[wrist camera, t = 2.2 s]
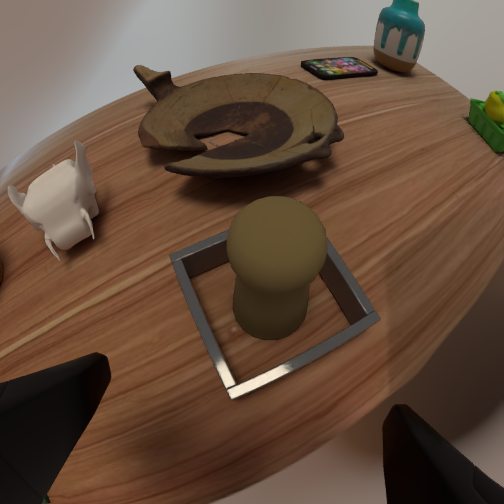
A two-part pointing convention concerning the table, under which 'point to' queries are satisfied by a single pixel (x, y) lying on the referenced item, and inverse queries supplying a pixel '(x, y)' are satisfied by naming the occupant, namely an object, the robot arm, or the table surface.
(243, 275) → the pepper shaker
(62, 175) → the elephant figurine
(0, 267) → the disposable coffee cup
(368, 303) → the holder
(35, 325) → the table surface
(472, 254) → the table surface
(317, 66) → the smartphone
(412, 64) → the vase
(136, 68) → the brown shallow dish
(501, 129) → the fruit basket
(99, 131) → the table surface
